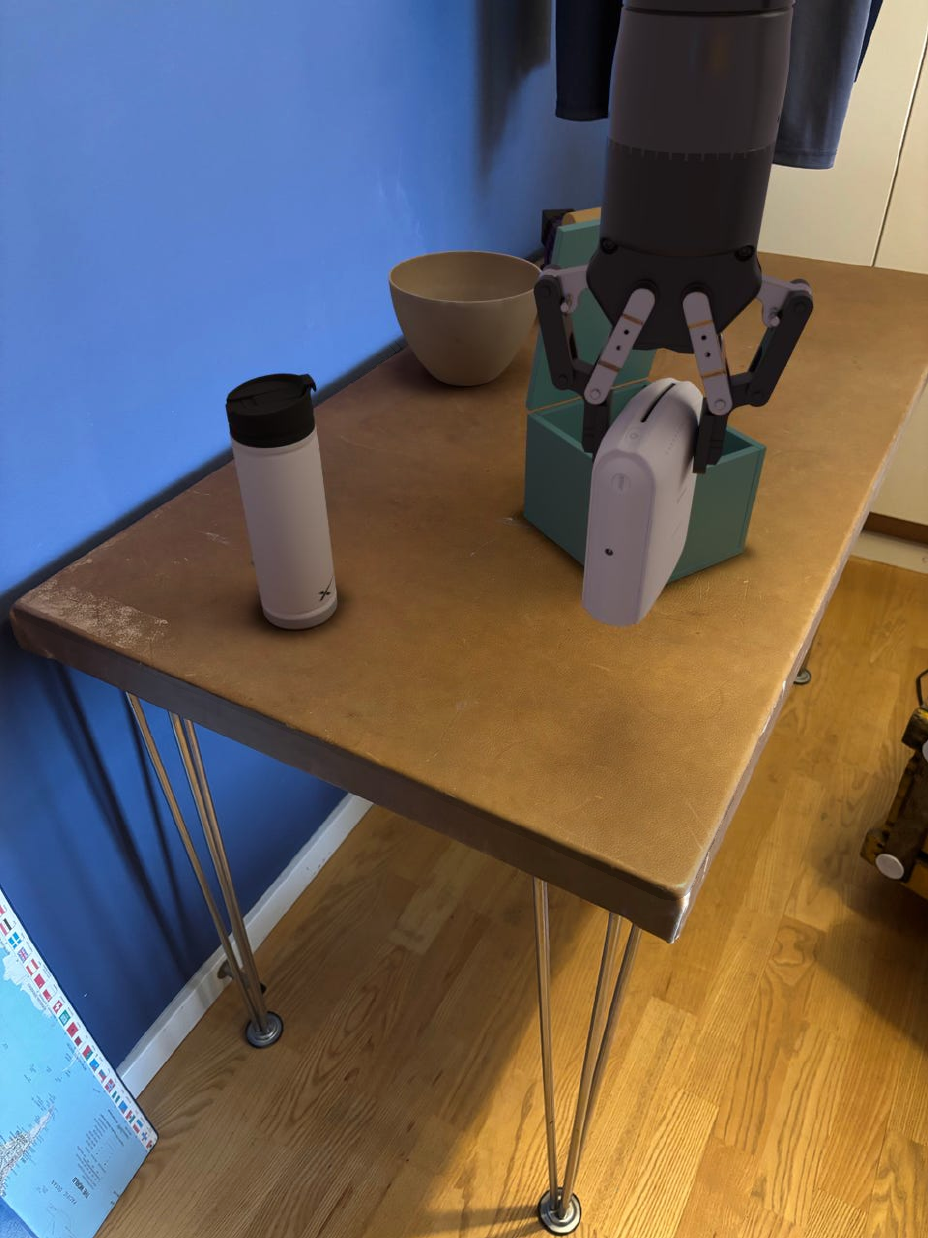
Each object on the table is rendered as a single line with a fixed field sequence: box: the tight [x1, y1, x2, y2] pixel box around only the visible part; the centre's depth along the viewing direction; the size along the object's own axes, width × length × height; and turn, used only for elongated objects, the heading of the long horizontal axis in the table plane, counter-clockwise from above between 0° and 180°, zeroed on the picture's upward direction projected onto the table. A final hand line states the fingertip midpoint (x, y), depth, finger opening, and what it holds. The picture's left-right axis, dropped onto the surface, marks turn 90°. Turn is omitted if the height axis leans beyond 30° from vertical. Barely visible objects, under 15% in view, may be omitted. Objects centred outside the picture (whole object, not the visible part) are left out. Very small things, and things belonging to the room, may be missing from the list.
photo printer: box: [581, 377, 704, 628], centre depth 53 cm, size 10×4×12 cm, turn 152°
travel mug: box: [224, 372, 339, 630], centre depth 71 cm, size 6×7×20 cm
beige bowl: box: [388, 250, 542, 387], centre depth 110 cm, size 18×18×12 cm
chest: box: [522, 379, 768, 585], centre depth 82 cm, size 16×14×11 cm
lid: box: [524, 206, 658, 412], centre depth 78 cm, size 16×14×5 cm
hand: (649, 460), depth 52 cm, fingers closed on photo printer, 5 cm apart
